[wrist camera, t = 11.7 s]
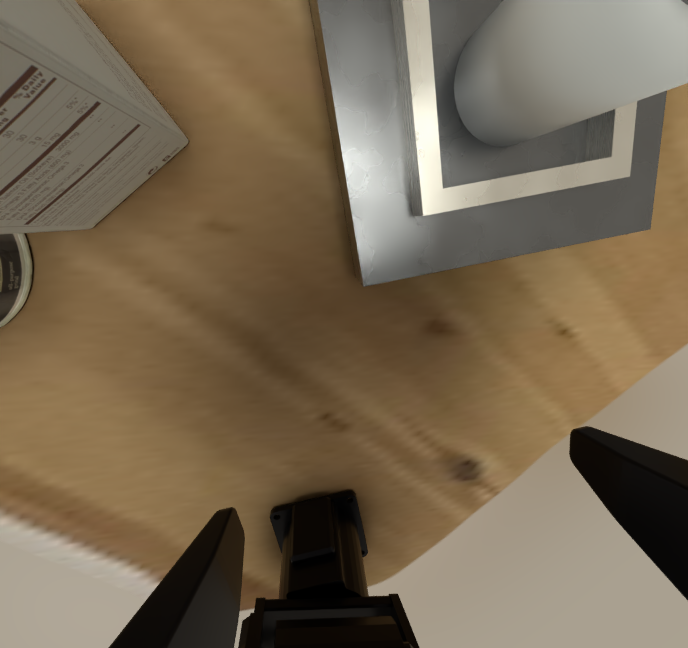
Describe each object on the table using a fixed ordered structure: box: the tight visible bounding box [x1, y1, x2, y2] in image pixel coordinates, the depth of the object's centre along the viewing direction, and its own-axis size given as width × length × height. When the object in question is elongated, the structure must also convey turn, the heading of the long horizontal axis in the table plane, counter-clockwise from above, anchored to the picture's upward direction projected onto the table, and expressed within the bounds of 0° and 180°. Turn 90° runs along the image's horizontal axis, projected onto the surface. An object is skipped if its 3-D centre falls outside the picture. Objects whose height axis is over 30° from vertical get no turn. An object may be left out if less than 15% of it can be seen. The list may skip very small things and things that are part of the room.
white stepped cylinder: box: [454, 0, 688, 147], centre depth 10 cm, size 5×5×10 cm
